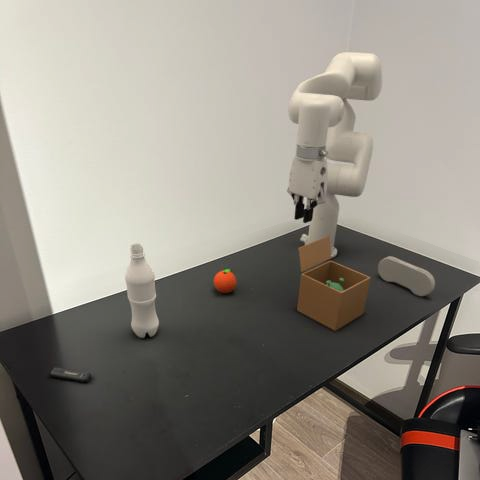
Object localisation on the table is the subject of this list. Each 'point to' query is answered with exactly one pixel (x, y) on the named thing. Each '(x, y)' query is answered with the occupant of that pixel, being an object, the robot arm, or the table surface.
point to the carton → (332, 294)
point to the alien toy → (335, 285)
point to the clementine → (225, 281)
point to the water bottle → (141, 293)
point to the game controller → (406, 275)
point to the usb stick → (70, 374)
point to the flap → (314, 253)
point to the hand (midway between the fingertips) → (303, 219)
